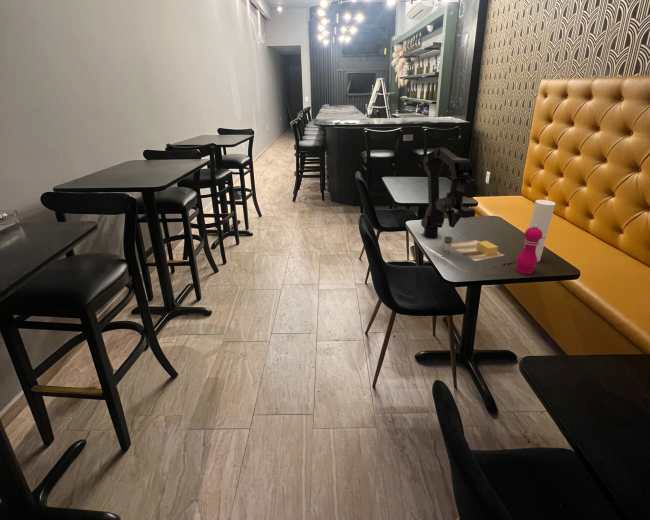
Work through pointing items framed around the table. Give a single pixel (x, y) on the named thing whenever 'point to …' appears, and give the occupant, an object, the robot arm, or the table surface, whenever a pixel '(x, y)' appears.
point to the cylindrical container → (542, 221)
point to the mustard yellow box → (486, 248)
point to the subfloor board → (472, 250)
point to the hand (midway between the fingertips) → (451, 226)
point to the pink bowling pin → (529, 251)
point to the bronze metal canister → (447, 244)
